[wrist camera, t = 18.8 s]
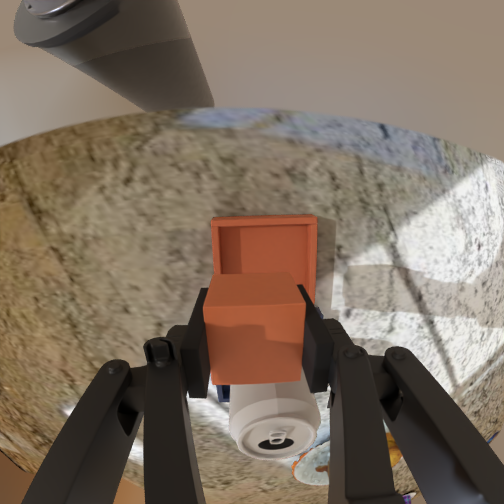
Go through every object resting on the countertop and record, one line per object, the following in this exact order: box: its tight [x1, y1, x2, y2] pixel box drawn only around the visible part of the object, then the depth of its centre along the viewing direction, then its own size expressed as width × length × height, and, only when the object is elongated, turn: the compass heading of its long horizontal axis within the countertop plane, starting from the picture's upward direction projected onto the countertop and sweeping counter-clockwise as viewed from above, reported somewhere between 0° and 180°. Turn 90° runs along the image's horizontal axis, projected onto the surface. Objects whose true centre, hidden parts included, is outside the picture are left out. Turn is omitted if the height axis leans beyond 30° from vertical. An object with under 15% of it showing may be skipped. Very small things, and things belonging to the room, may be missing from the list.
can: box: [229, 368, 321, 460], centre depth 23 cm, size 8×8×12 cm
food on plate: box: [292, 420, 403, 486], centre depth 32 cm, size 25×25×7 cm
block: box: [203, 272, 306, 385], centre depth 15 cm, size 5×5×5 cm
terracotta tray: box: [211, 214, 317, 304], centre depth 26 cm, size 9×9×2 cm
